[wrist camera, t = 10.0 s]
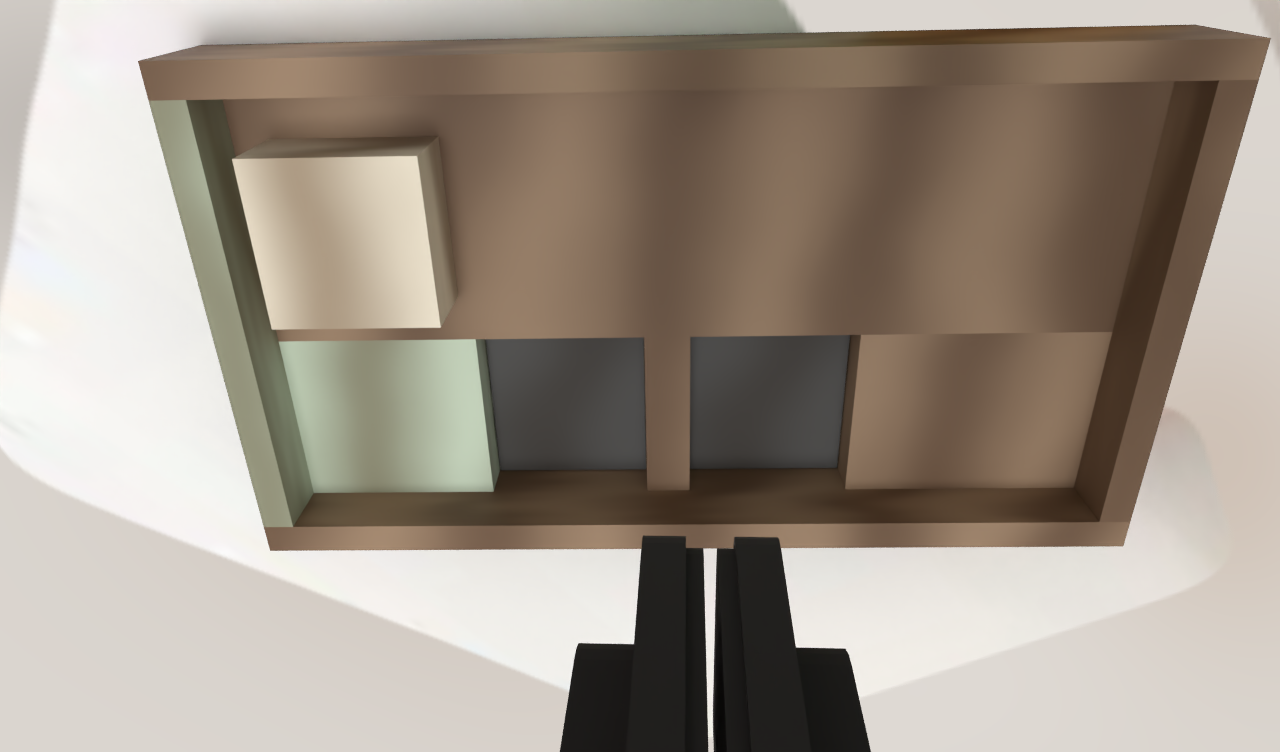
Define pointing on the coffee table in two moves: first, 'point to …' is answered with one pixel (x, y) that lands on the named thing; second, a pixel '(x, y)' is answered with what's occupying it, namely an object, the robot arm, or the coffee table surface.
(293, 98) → the box
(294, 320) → the block
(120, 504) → the coffee table surface
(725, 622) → the robot arm
